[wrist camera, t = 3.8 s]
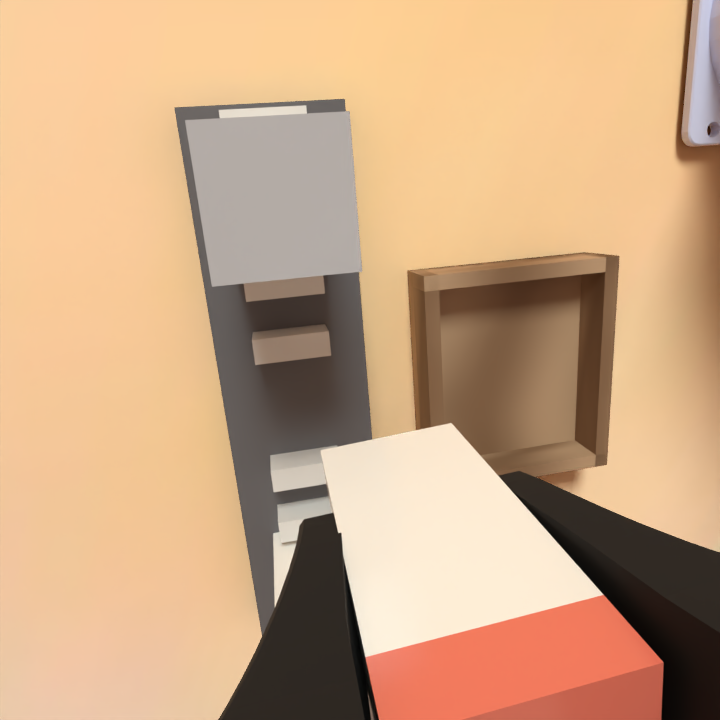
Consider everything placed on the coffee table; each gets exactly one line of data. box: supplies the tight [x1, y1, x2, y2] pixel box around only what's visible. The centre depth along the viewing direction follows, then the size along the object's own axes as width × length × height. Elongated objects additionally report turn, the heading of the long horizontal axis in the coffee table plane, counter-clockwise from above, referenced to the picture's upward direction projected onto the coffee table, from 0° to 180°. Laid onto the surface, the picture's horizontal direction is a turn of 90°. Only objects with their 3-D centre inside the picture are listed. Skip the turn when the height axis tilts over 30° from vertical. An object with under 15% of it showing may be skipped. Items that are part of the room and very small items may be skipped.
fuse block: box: [175, 99, 372, 636], centre depth 18 cm, size 5×19×2 cm, turn 5°
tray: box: [408, 253, 619, 477], centre depth 19 cm, size 7×8×2 cm
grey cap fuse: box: [185, 111, 362, 287], centre depth 13 cm, size 3×3×6 cm
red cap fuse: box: [320, 423, 664, 720], centre depth 9 cm, size 3×3×6 cm
